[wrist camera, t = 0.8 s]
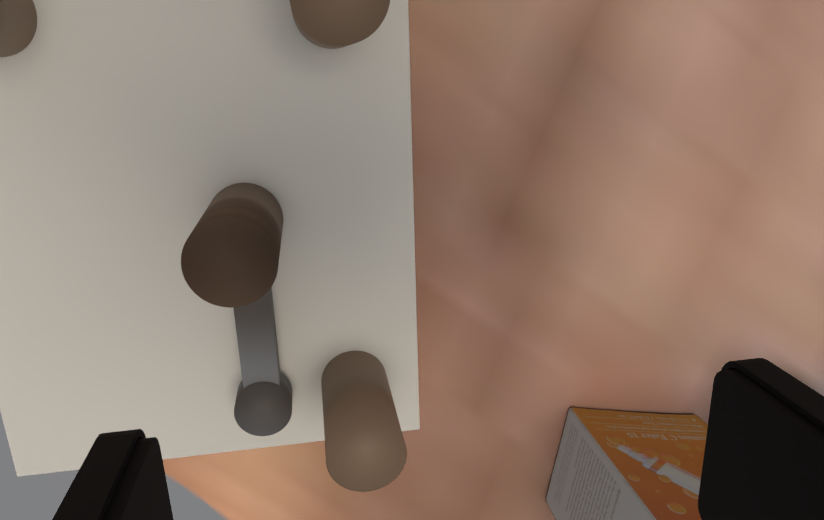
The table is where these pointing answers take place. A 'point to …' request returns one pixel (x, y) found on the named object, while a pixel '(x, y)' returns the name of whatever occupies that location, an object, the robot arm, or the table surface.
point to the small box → (628, 466)
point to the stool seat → (181, 211)
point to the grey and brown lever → (244, 294)
